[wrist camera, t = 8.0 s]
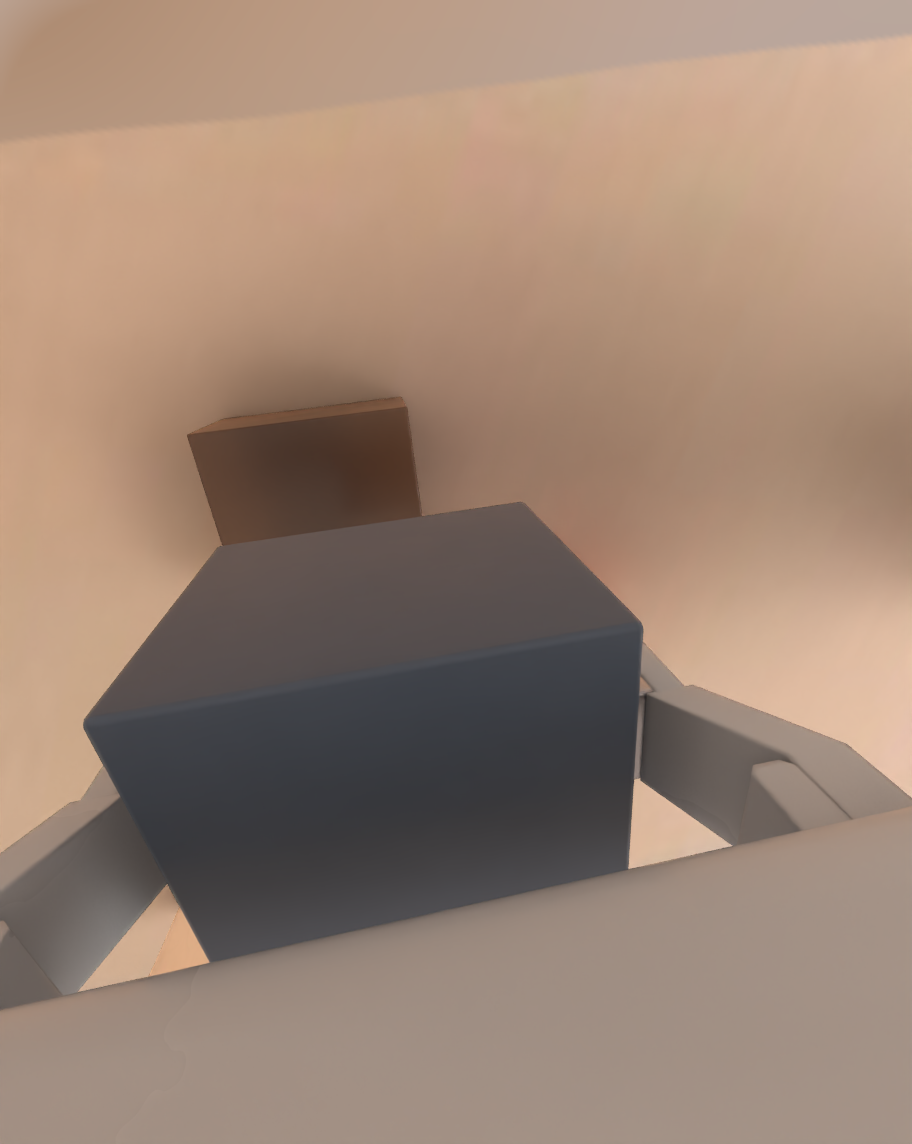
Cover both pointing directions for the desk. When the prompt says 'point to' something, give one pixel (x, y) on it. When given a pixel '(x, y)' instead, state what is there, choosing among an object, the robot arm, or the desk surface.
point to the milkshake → (179, 948)
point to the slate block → (377, 727)
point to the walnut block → (308, 470)
